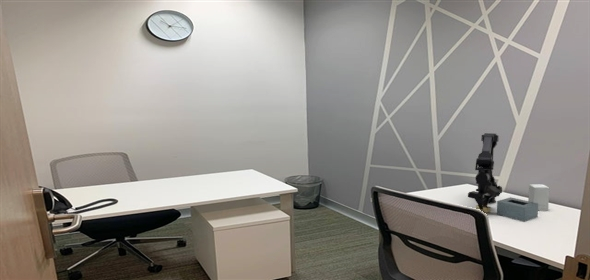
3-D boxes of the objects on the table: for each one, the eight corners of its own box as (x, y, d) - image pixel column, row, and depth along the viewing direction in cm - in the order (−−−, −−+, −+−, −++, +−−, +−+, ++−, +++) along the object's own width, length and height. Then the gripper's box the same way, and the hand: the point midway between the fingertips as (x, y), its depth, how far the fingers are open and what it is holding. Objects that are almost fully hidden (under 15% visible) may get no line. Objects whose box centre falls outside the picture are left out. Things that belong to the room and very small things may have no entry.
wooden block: (476, 209, 204) (476, 205, 204) (479, 208, 206) (479, 204, 206) (486, 212, 199) (486, 208, 199) (490, 211, 201) (490, 206, 201)
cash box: (496, 214, 197) (497, 201, 196) (510, 210, 203) (510, 197, 202) (524, 221, 185) (525, 207, 184) (537, 216, 191) (538, 203, 190)
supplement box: (548, 210, 200) (549, 187, 198) (533, 210, 202) (534, 187, 200) (542, 206, 207) (543, 184, 206) (527, 206, 209) (528, 183, 207)
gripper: (487, 185, 189) (486, 216, 191) (509, 180, 198) (508, 209, 200) (467, 181, 199) (466, 210, 201) (489, 176, 208) (488, 204, 210)
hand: (483, 208), depth 203 cm, fingers closed on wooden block, 3 cm apart
